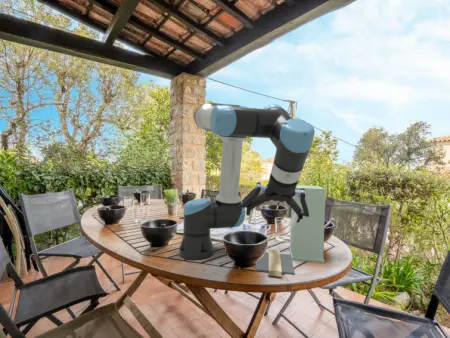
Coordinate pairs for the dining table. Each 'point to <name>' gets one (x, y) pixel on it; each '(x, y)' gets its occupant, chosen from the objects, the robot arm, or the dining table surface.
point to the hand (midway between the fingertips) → (270, 223)
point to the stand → (309, 227)
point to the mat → (285, 264)
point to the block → (275, 263)
